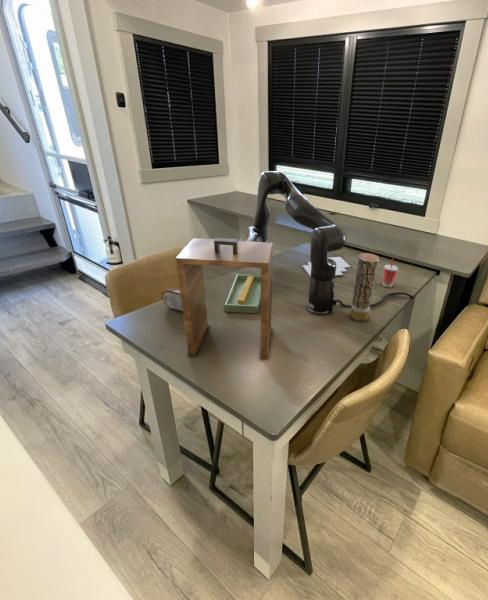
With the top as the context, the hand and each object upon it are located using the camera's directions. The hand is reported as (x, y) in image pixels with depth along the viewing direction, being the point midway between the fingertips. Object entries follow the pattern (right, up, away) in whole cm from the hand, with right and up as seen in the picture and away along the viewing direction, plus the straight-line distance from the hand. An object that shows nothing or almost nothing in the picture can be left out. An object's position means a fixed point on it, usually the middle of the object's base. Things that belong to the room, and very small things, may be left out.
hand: (247, 259), depth 135 cm
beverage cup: (+62, -9, +18) cm, 65 cm away
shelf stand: (0, -30, -27) cm, 40 cm away
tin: (-23, -20, -12) cm, 33 cm away
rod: (-1, -13, +2) cm, 14 cm away
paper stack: (+35, 0, +32) cm, 48 cm away
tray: (-1, -15, +1) cm, 15 cm away
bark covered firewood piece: (+44, -23, -8) cm, 51 cm away
